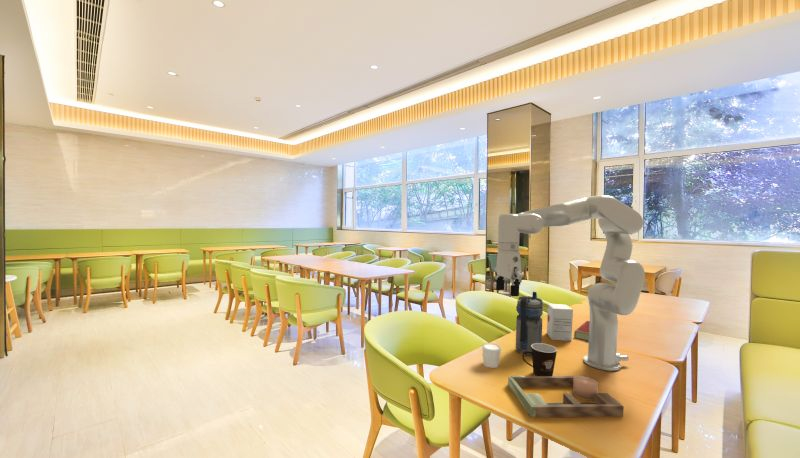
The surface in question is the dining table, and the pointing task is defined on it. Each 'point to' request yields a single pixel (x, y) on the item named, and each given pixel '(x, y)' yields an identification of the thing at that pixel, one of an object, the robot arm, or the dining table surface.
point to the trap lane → (570, 405)
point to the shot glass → (491, 355)
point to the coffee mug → (542, 359)
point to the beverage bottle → (528, 323)
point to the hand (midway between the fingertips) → (507, 292)
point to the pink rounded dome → (585, 387)
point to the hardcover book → (583, 331)
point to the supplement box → (559, 322)
